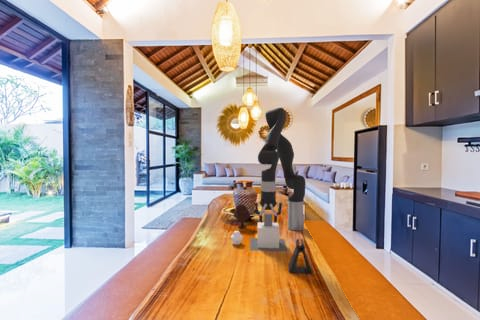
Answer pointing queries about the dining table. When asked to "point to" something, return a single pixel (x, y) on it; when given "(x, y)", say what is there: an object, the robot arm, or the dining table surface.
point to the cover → (268, 233)
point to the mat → (255, 243)
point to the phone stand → (292, 264)
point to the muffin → (236, 237)
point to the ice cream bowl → (242, 214)
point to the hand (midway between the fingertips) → (268, 222)
